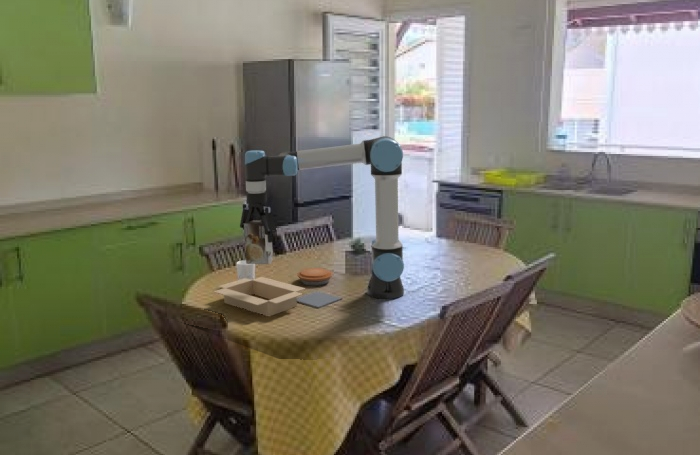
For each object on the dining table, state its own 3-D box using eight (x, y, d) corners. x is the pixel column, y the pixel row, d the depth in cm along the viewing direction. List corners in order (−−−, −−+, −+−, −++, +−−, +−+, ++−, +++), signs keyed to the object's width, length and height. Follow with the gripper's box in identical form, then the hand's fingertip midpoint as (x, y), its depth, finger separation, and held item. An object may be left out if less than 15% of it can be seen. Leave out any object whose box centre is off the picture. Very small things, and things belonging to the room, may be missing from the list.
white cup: (240, 288, 268) (239, 265, 266) (235, 283, 275) (234, 261, 273) (258, 285, 272) (257, 263, 270) (252, 281, 279) (251, 259, 277)
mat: (342, 299, 254) (342, 297, 254) (318, 308, 243) (318, 306, 243) (316, 292, 263) (316, 291, 262) (292, 301, 252) (292, 299, 252)
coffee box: (273, 260, 247) (271, 220, 243) (268, 264, 241) (266, 223, 237) (250, 259, 248) (248, 219, 245) (245, 264, 242) (243, 223, 239)
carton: (313, 305, 247) (312, 290, 246) (265, 322, 228) (265, 307, 227) (255, 288, 268) (255, 275, 267) (207, 303, 249) (207, 289, 248)
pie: (339, 280, 280) (339, 269, 279) (320, 289, 267) (319, 278, 266) (310, 275, 288) (310, 264, 287) (290, 283, 275) (290, 272, 274)
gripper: (285, 193, 234) (287, 250, 239) (243, 187, 249) (246, 242, 253) (270, 196, 229) (272, 254, 233) (228, 190, 243) (231, 245, 248)
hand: (258, 248), depth 243 cm, fingers closed on coffee box, 11 cm apart
